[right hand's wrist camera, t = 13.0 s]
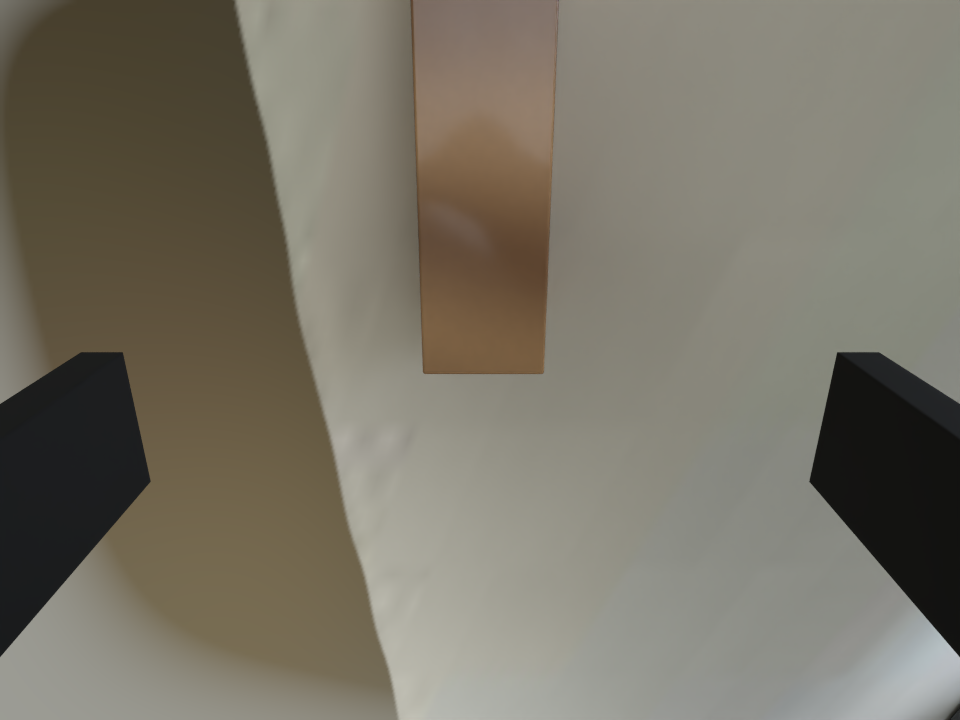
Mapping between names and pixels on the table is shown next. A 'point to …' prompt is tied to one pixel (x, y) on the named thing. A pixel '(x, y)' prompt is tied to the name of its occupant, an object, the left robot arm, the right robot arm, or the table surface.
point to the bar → (484, 180)
